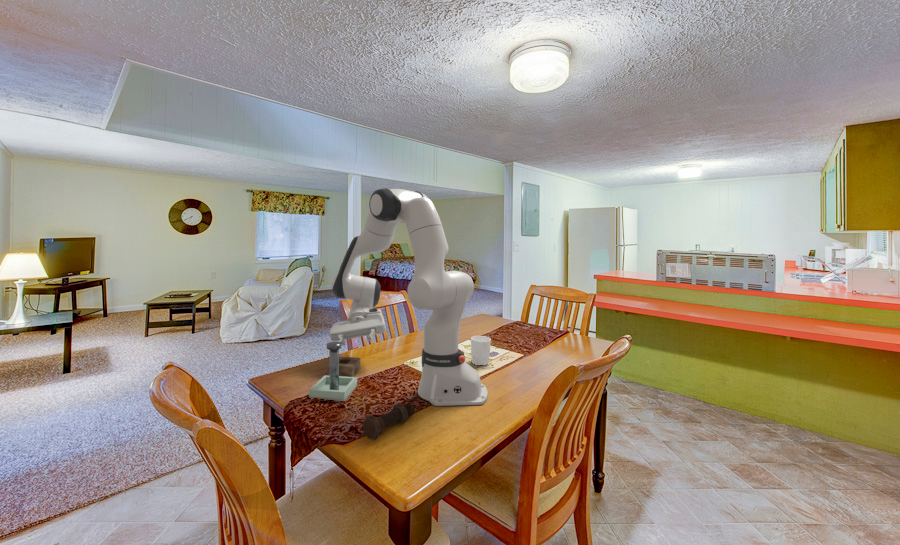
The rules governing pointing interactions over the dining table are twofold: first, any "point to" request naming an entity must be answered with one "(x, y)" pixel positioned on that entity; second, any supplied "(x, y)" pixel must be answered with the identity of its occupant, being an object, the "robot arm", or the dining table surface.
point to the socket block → (347, 366)
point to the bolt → (386, 420)
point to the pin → (334, 364)
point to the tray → (324, 392)
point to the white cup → (480, 350)
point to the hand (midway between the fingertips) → (356, 341)
